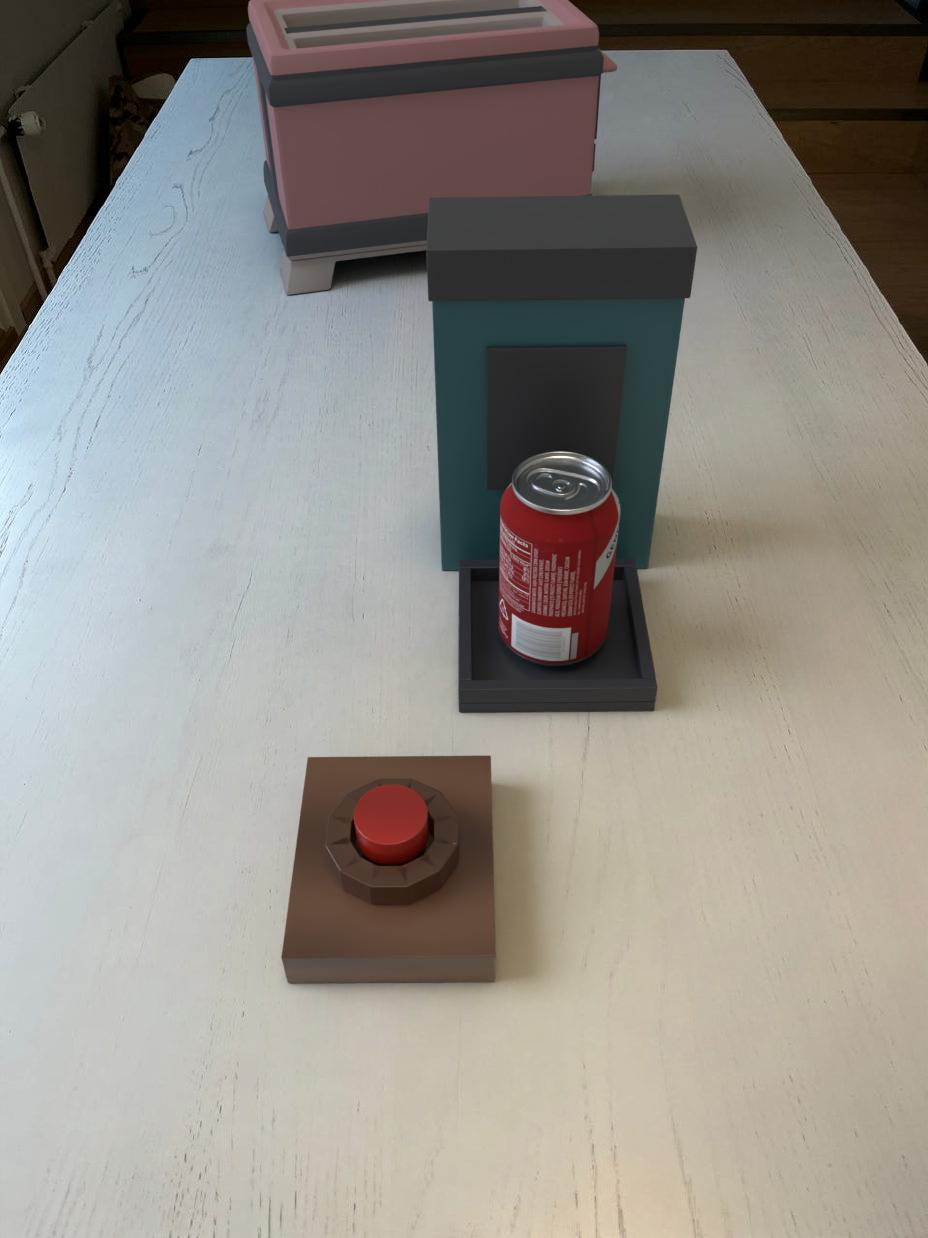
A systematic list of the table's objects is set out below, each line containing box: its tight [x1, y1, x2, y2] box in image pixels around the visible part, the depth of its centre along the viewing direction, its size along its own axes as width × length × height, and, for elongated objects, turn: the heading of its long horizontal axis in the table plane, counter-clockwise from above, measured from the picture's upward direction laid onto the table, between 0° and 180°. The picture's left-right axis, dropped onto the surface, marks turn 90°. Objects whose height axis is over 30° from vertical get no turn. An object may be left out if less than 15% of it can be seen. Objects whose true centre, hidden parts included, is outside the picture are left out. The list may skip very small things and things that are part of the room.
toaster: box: [245, 0, 618, 296], centre depth 105 cm, size 19×34×21 cm, turn 104°
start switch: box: [280, 755, 496, 984], centre depth 55 cm, size 12×10×4 cm
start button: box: [354, 784, 429, 865], centre depth 54 cm, size 4×4×2 cm
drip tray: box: [457, 559, 658, 713], centre depth 68 cm, size 12×12×2 cm
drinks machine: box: [425, 194, 698, 571], centre depth 68 cm, size 7×14×23 cm, turn 90°
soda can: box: [499, 451, 621, 666], centre depth 64 cm, size 7×7×12 cm
